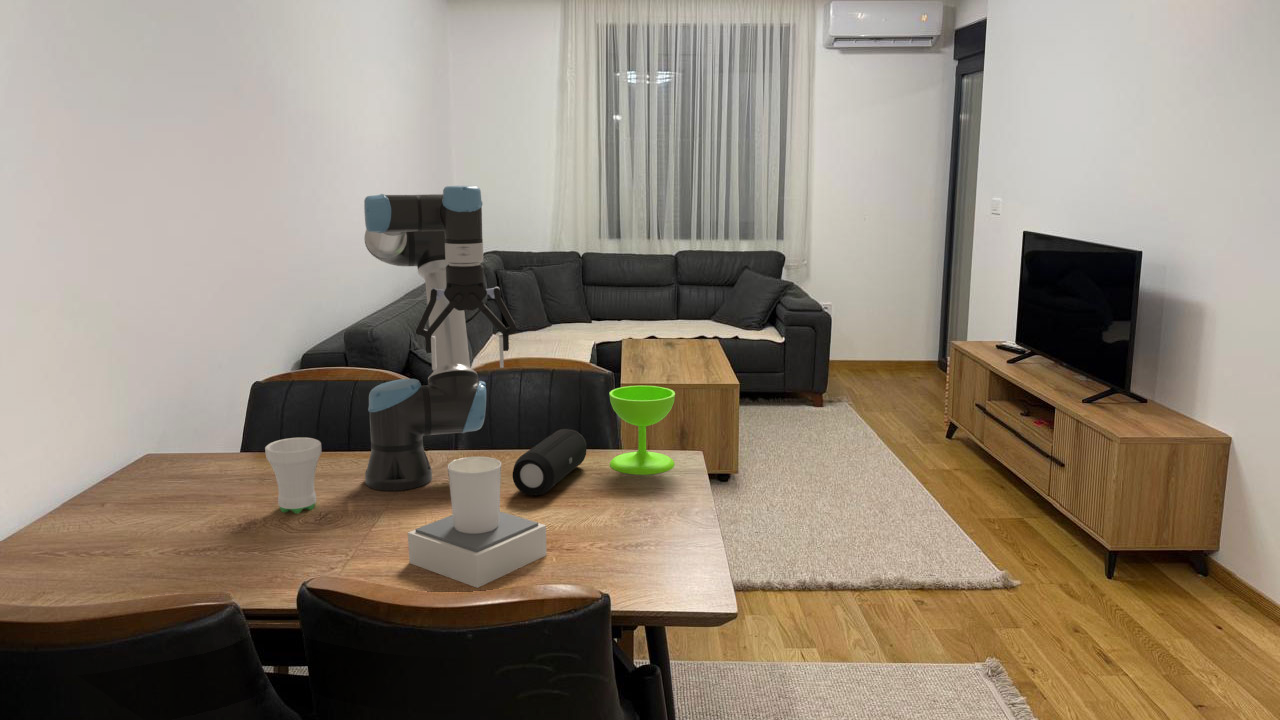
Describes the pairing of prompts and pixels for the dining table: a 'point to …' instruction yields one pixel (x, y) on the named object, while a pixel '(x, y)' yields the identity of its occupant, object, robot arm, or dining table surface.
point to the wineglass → (642, 426)
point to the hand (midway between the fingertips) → (468, 367)
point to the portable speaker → (549, 462)
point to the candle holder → (475, 493)
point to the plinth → (477, 549)
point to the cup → (295, 471)
